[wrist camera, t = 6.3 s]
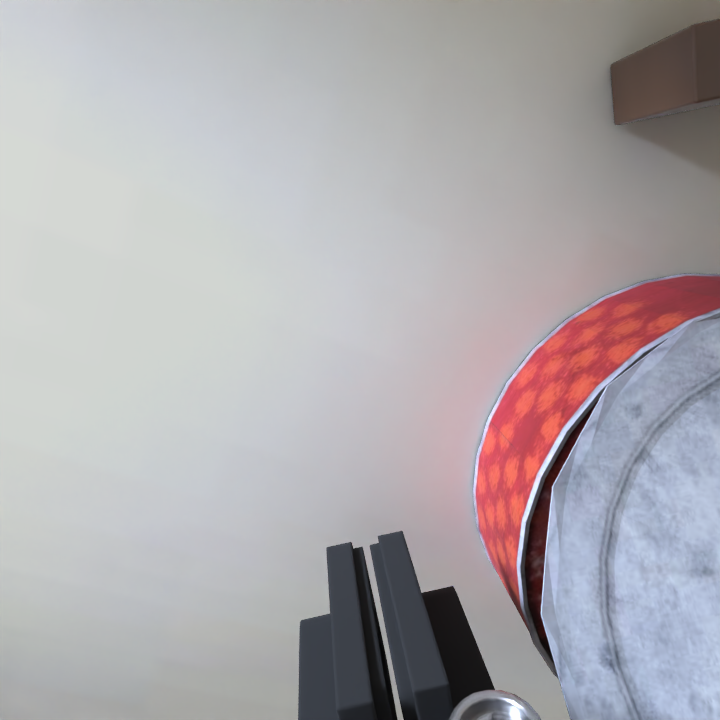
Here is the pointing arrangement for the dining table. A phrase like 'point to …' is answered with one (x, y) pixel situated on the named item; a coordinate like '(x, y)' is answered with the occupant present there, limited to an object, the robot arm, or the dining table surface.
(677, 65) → the bay
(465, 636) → the robot arm
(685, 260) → the dining table surface
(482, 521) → the canned food
